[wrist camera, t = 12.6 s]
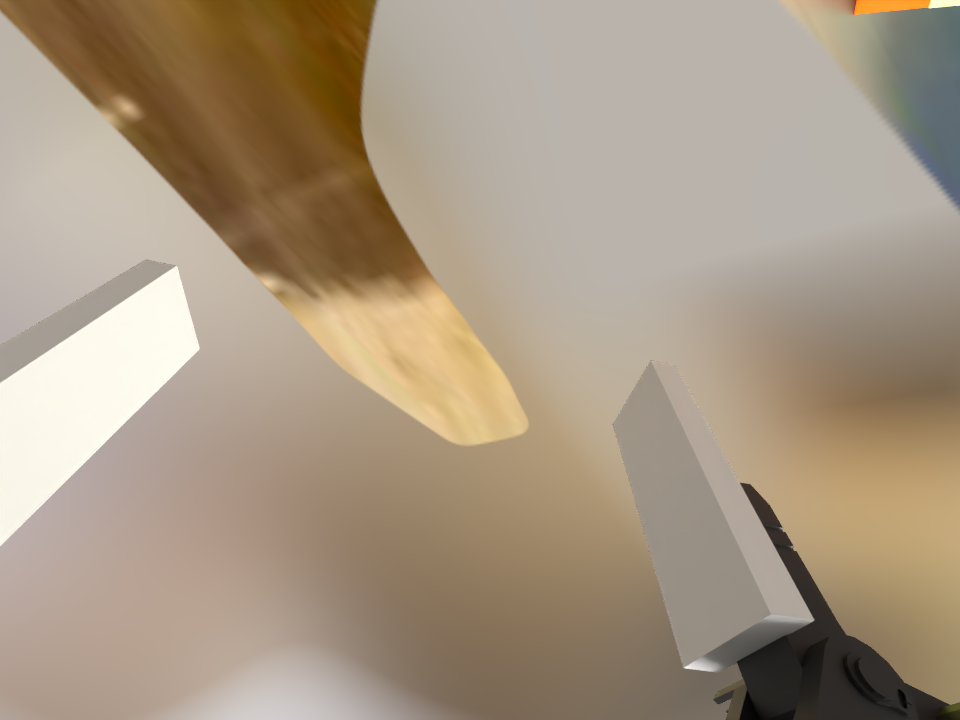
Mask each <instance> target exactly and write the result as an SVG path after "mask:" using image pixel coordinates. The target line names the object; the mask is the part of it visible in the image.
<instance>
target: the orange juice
mask: <svg viewBox="0 0 960 720" xmlns="http://www.w3.org/2000/svg"><path fill="white" fill-rule="evenodd" d="M958 5H960V0H857V2H856V7H855V12H854V14H865V13H875V12H885V11H895V10H905V9H916V8H926V7H929V8H937V7H947V6H958Z"/></svg>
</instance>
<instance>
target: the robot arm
mask: <svg viewBox="0 0 960 720" xmlns="http://www.w3.org/2000/svg"><path fill="white" fill-rule="evenodd" d="M198 350H199V345H198V341H197V337H196V334H195V331H194V327H193V323H192V319H191V316H190V312H189V309H188V305H187V301H186V297H185V294H184V291H183V287H182V283H181V279H180V276H179V272H178V269H177V266H175V265H171V264H166V263H161V262H155V261H151V260H144V261H142V262H141V263H139V264H137V265H136V266H134V267H132V268H131V269H129V270H127V271H126V272H124V273H122V274H120V275H119V276H117V277H116V278H114V279H112V280H110V281H109V282H107V283H106V284H104V285H102V286H100V287H99V288H97V289H95V290H94V291H92V292H90V293H89V294H87V295H85V296H83V297H82V298H80V299H78V300H76V301H75V302H73V303H71V304H70V305H68V306H66V307H64V308H63V309H61V310H59V311H58V312H56V313H54V314H53V315H51V316H49V317H48V318H46V319H44V320H42V321H41V322H39V323H37V324H36V325H34V326H32V327H31V328H29V329H28V330H25V331H24V332H22V333H21V334H19V335H17V336H15V337H14V338H12V339H10V340H9V341H7V342H5V343H3V344H2V345H0V545H2V544H3V543H4V542H5V541H6V540H7V539H8V538H9V537H10V536H11V535H12V534H13V533H14V532H15V531H16V530H17V529H18V528H19V527H20V526H21V525H22V524H23V523H24V522H25V521H26V520H27V519H28V518H29V517H30V516H31V515H32V514H33V513H34V512H35V511H36V510H37V509H38V508H39V507H40V506H41V505H42V504H43V503H44V502H45V501H46V500H47V499H48V498H49V497H50V496H51V495H52V494H53V493H54V492H55V491H56V490H57V489H58V488H60V487H61V486H62V484H64V483H65V482H66V481H67V480H68V479H69V478H70V477H71V476H72V475H73V473H75V472H76V471H77V470H78V469H79V468H80V467H81V466H82V465H83V464H84V463H85V462H86V461H87V460H88V459H89V458H90V457H91V456H92V455H93V454H94V453H95V452H96V451H97V450H98V449H99V448H100V447H101V446H102V445H103V444H104V443H105V442H106V441H107V440H108V439H109V438H110V437H111V436H112V435H113V434H114V433H115V432H116V431H117V430H118V429H119V428H120V427H121V426H122V425H123V424H124V423H125V422H126V421H127V420H128V419H129V418H130V417H131V416H132V415H133V414H134V413H135V412H136V411H137V410H138V409H139V408H140V407H141V406H142V405H143V404H144V403H146V402H147V400H148V399H150V398H151V396H153V394H154V393H156V392H157V391H158V390H159V389H160V388H161V387H162V386H163V385H164V384H165V383H166V382H167V381H168V380H169V379H170V378H171V377H172V376H173V375H174V374H175V373H176V372H177V371H178V370H179V369H180V368H181V367H182V366H183V365H184V364H185V363H186V362H187V361H188V360H189V359H190V358H191V357H192V356H193V355H194V354H195V353H196V352H197V351H198ZM613 427H614V431H615V434H616V438H617V441H618V445H619V448H620V451H621V455H622V458H623V461H624V465H625V468H626V472H627V475H628V479H629V482H630V486H631V489H632V493H633V496H634V499H635V503H636V507H637V510H638V513H639V516H640V520H641V523H642V527H643V530H644V534H645V537H646V541H647V544H648V548H649V551H650V554H651V558H652V562H653V565H654V568H655V572H656V575H657V579H658V582H659V586H660V589H661V592H662V595H663V599H664V603H665V606H666V610H667V613H668V617H669V620H670V623H671V627H672V630H673V634H674V637H675V641H676V644H677V648H678V651H679V654H680V658H681V661H682V665H683V668H688V669H695V670H704V671H711V672H721V671H722V670H724V669H726V668H728V667H730V666H732V665H734V664H735V663H738V666H739V669H740V671H741V674H742V677H743V679H742V680H740V681H738V682H737V683H735V684H732V685H730V686H728V687H726V688H724V689H722V690H721V691H718V693H717V694H716V696H715V697H714V699H713V700H714V701H715V702H716V703H717V704H720V703H723V702H725V701H727V700H729V699H731V698H732V700H731V703H730V707H729V709H728V710H727V711H726V712H727V713H728V714H727V717H726V720H960V703H956V704H952V705H949V704H947V703H945V702H943V701H941V700H939V699H937V698H935V697H933V696H931V695H928V694H926V693H924V692H922V691H920V690H918V689H916V688H914V687H912V686H910V685H908V684H906V683H904V682H903V680H902V679H901V678H900V677H899V675H898V674H897V673H896V672H895V671H894V669H893V668H892V667H891V666H890V664H889V663H888V662H887V661H886V660H884V659H883V658H882V657H881V656H880V655H879V654H878V653H876V651H875V650H873V649H872V648H871V647H870V646H868V645H866V644H864V643H863V642H861V641H859V640H858V639H856V638H854V637H851V636H847V635H846V634H845V632H844V631H843V629H842V628H841V626H840V625H839V623H838V622H837V620H836V618H835V616H834V615H833V613H832V611H831V610H830V608H829V606H828V605H827V603H826V601H825V599H824V598H823V596H822V594H821V592H820V591H819V589H818V587H817V586H816V584H815V582H814V581H813V579H812V577H811V575H810V574H809V572H808V570H807V568H806V567H805V565H804V563H803V562H802V560H801V558H800V557H799V555H798V553H797V552H796V551H794V550H793V544H792V543H791V541H790V539H789V538H788V536H787V534H786V533H785V532H783V531H782V528H783V527H782V526H781V524H780V522H779V520H778V519H777V517H776V515H775V514H774V512H773V510H772V508H771V507H770V505H769V504H768V503H767V502H766V501H765V500H764V499H763V498H762V497H761V495H760V494H759V493H758V492H757V491H756V490H755V489H754V488H753V487H752V486H751V485H750V484H745V483H740V482H739V481H738V479H737V477H736V475H735V473H734V471H733V470H732V468H731V466H730V464H729V462H728V460H727V459H726V457H725V455H724V453H723V451H722V450H721V448H720V446H719V444H718V442H717V440H716V439H715V437H714V435H713V433H712V431H711V429H710V427H709V426H708V424H707V422H706V420H705V418H704V417H703V415H702V413H701V411H700V409H699V407H698V405H697V404H696V402H695V400H694V398H693V396H692V394H691V393H690V391H689V389H688V387H687V385H686V383H685V381H684V380H683V378H682V376H681V374H680V372H679V370H678V369H677V367H676V365H673V364H668V363H663V362H658V361H653V360H651V361H650V362H649V364H648V366H647V367H646V369H645V371H644V372H643V374H642V376H641V378H640V380H639V381H638V383H637V384H636V386H635V388H634V389H633V391H632V393H631V395H630V396H629V398H628V400H627V401H626V403H625V404H624V406H623V408H622V410H621V411H620V413H619V415H618V416H617V418H616V420H615V421H614V423H613Z"/></svg>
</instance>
